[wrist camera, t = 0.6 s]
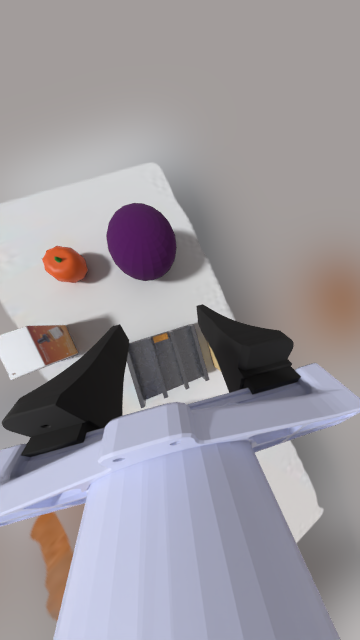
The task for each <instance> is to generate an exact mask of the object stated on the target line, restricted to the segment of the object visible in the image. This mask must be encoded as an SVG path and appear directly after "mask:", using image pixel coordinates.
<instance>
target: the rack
mask: <svg viewBox="0 0 360 640" xmlns="http://www.w3.org/2000/svg"><path fill="white" fill-rule="evenodd" d="M127 363H128V367H129V370H130V373H131V376H132V380H133V383H134V386H135V389H136V393H137V396H138V399H139V402H140V406H141V408H143V407H145V403H146V399H148V398H151V397H153V396H156V395H158V394H161V393H163V395H164V398H167V397H168V394H167V391H168V390H171V389H173V388H176V387H178V386H180V385H184V387H185V389H188V388H189V385H188V382H190V381H193V380H195V379H198V378H200V377H203V378H204V379H205V381H208V380H209V377H208V373H207V370H206V366H205V363H204V359H203V356H202V352H201V349H200V345H199V342H198V338H197V334H196V331H195V327H194V325H187V326H184V327H180V328H177V329H174V330H171V331H167V332H164V333H161V334H158V335H154V336H151V337H148V338H145V339H141V340H138V341H135V342H132V343H129V351H128V357H127Z"/></svg>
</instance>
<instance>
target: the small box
mask: <svg viewBox="0 0 360 640" xmlns="http://www.w3.org/2000/svg"><path fill="white" fill-rule="evenodd" d="M76 354H78V351H77V349H76V348H75V345H74V343H73V341H72V339H71V337H70V334H69V332H68V330H67V328H66V326H65V325H51V326H25V327H22V328H19V329H16V330H13V331H10V332H7V333H4V334H2V335H0V358H1V360H2V362H3V364H4V366H5V368H6V370H7V373H8V375H9V377H10V380H13V379H16V378H19V377H21V376H24V375H26V374H29V373H31V372H34V371H37V370H39V369H42V368H44V367H47V366H49V365H52V364H54V363H57V362H59V361H62V360H64V359H66V358H69V357H71V356H73V355H76Z"/></svg>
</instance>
